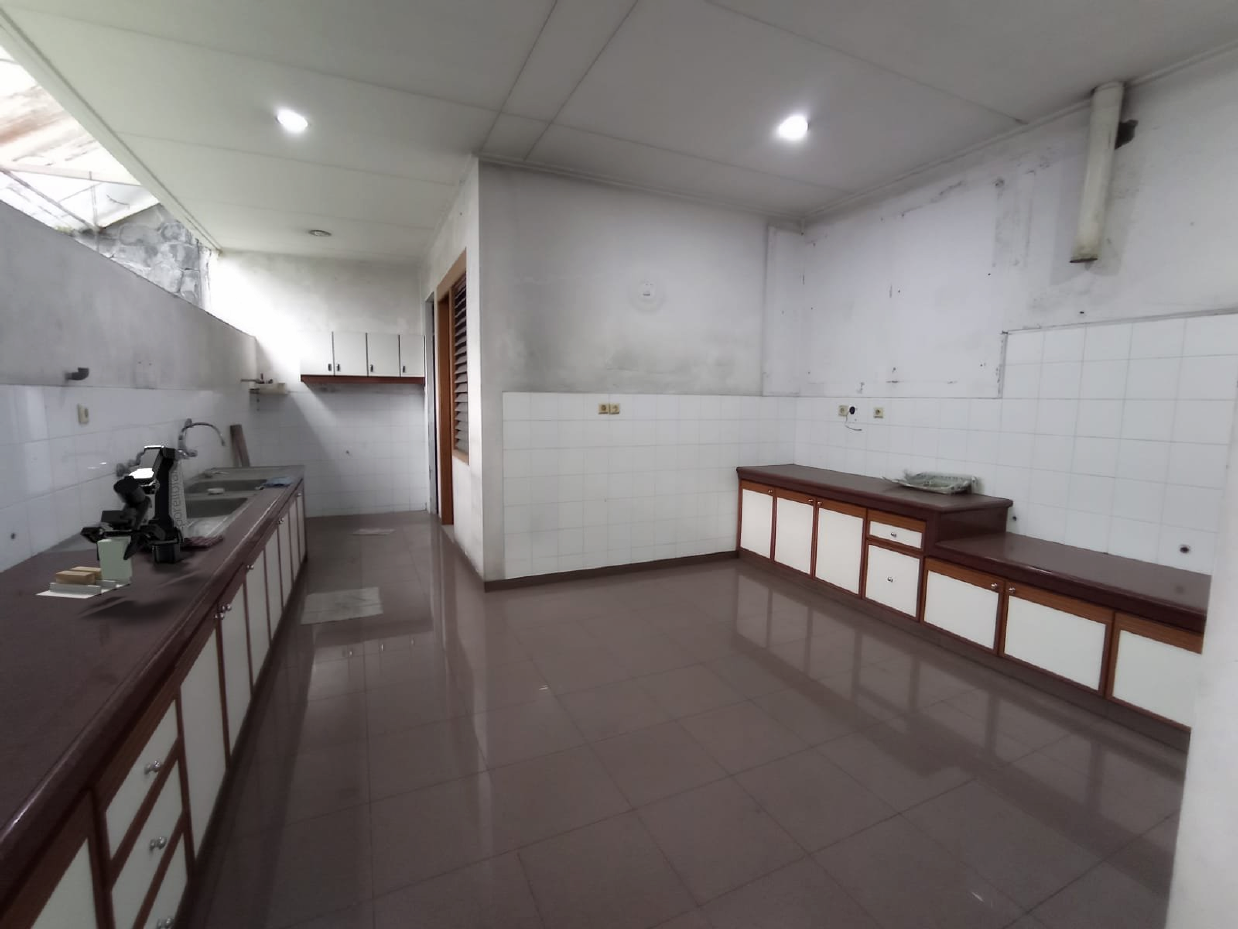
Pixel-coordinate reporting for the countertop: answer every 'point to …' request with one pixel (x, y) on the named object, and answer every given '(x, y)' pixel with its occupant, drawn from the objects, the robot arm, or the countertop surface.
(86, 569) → the offcut front
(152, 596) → the countertop surface
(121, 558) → the sage green block
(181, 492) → the white cardboard box
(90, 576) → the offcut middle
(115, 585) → the rack
